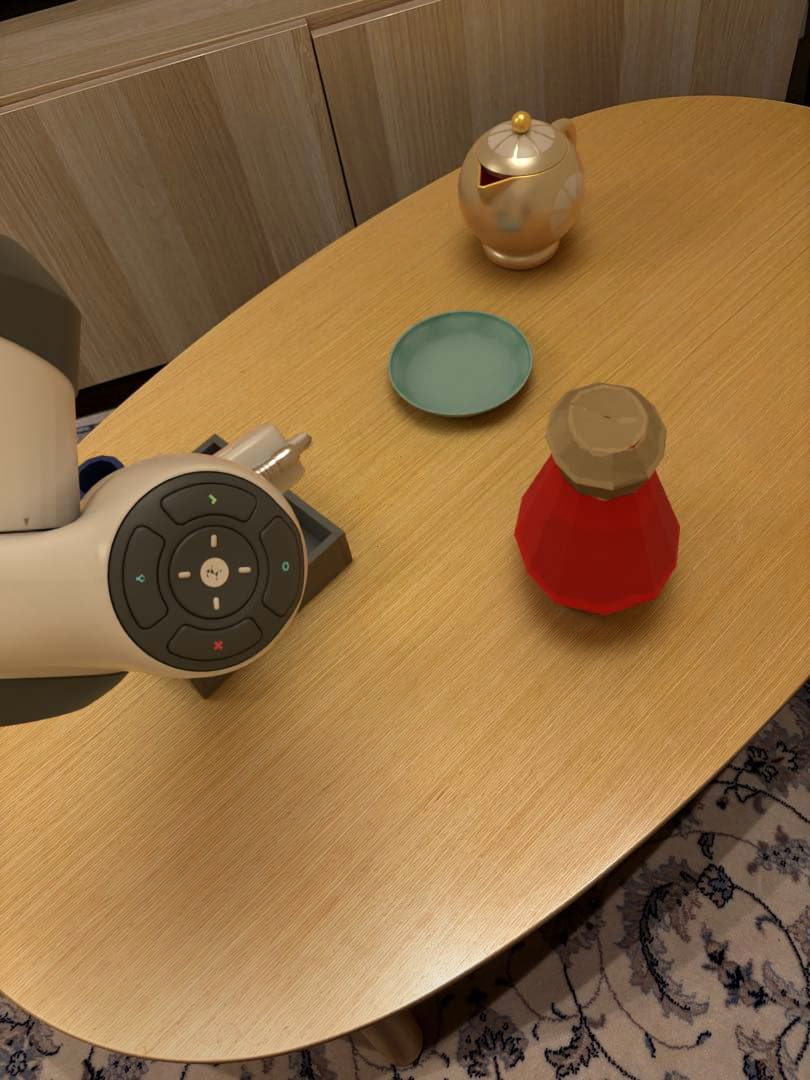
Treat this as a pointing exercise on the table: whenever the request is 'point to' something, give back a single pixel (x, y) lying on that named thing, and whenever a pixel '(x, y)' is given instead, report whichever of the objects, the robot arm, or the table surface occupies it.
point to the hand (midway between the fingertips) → (135, 536)
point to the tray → (323, 555)
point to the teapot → (522, 189)
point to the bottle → (600, 504)
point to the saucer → (460, 363)
